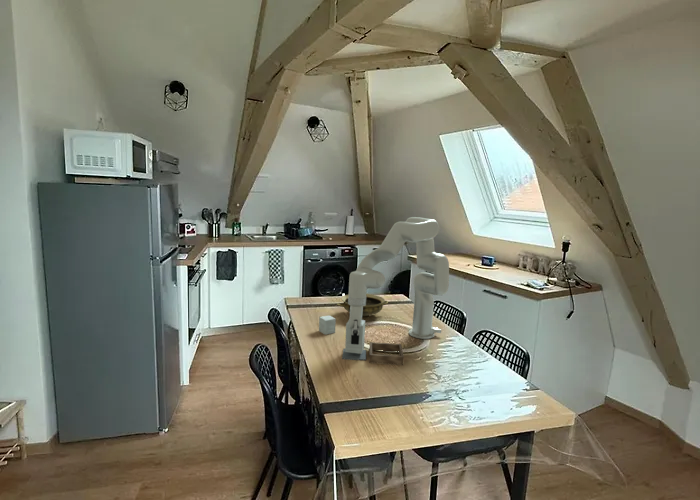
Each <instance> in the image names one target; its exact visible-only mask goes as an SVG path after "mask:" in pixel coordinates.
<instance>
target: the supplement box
mask: <svg viewBox="0 0 700 500" xmlns="http://www.w3.org/2000/svg"><path fill="white" fill-rule="evenodd" d="M349 320H350V318H349V319H348V321H347V322H346V323H345V344H344V345H345V348H344V349H345V352H350V353H359V354H362V352H363V350H365V337H366V320H364V319H362V322H361V328H360V329H359V344H358V345H357V344H351V335H352V328H351V329H350V328H349ZM354 322H355V320H354ZM357 323H358V320H357ZM353 328H354V325H353ZM357 328H358V325H357ZM357 331H358V330H357Z"/></svg>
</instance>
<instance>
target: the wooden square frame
mask: <svg viewBox="0 0 700 500" xmlns="http://www.w3.org/2000/svg"><path fill="white" fill-rule="evenodd" d="M374 350H375V351H374ZM376 350H383V351H382V352H386V351H397V352H396V353H398V355H393V354H392V355H390V354H377V353H375V354H374V353H373V352H377V351H376ZM398 351H399V352H398ZM368 352H369V354H368V356H369V358H368V359H369V364H381V365H395V366H396V365H397V366H404V360H405V357H404V351H403V346H402V344H401V343H389V342H376V341H375V342H373V341H372V342H371V341H369V350H368Z"/></svg>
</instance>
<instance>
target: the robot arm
mask: <svg viewBox="0 0 700 500" xmlns="http://www.w3.org/2000/svg"><path fill="white" fill-rule="evenodd" d="M439 232H440V225H439V223H438V221H437V220H435V219H432V218H425V217H419V216H417V217H416V216H411V217H408V218H407V219H406V220H405V221H397V222H395V223H394V224H393V225H392V226H391V229H390V230H389V231H388V233H387V235H386V237H384V240H383V241H382V242H381V245H380V246H379V247H377V248H375V249H373V250H372V251H371V252H370V253H368V254H367V255H366V256H365V257H364V258H363V259H362V260H361V261H360V263H359V264H358V267H357V268H356V270H354V271H351V272H349V273H350V274H349V279H348V281H349V282H348V295H349V298H348V304H349V305H351V306H350V312H349V319H350V320H349V319H348V320H349V328H350V329H351V328H352V335H351V344H357V345H358V344H359V329H360V328H361V322H362V320H363V318H362V313H363V306H365V305H366V294H368V293H367V290H368V289H379V288H382V287H383V286H384V285H385V282H386V278H385V275H384V274H383V273H382V272H381V271H379V270H375V269H374V268H375V267H376V266H377V265H378V264H380V263H383V262H385V261H389V260H392V259H395V258H396V257H397V256H398V254H399V253H400V252H401V250H402V248H403V246H404V245H405V243H406V242H408V243H413V244H414V243H415V245H416V266H417V268H418V269H420V270H422V271H421V272H418V273H417V274H415V276H414V278H413V290H414V301H413V302H414V303H413V314H412V315H413V316H412V317H413V318H412V328H411V329H409V330H408V334H409V336H411V337H413V338H415V339H423V340H428V339H433V338H434V337H435V333H437V334H442V329H441V328H438V327H434V326H433V317H434V305H435V300H434V296H437V297H444V296H445V295H446V294H447V293H448V290H449V285H450V283H449V281H450V262H449V259H448V257H447V256H446V255H444V254H443V253H440V252H439V253H438V252H436V251H435V241H434V238H436V236H438V234H439ZM354 320H355V322H354ZM357 320H358V323H357ZM353 325H354V328H353ZM357 325H358V328H357ZM357 330H358V331H357Z"/></svg>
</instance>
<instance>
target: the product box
mask: <svg viewBox="0 0 700 500" xmlns="http://www.w3.org/2000/svg"><path fill="white" fill-rule="evenodd" d="M318 320H319V321H318V332H319V333H321V334H323V335H325V336H326V335H329V334H334V333H336V321H337V320H336V318H335V317H333V316H331V315H323V316H319V319H318Z"/></svg>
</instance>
